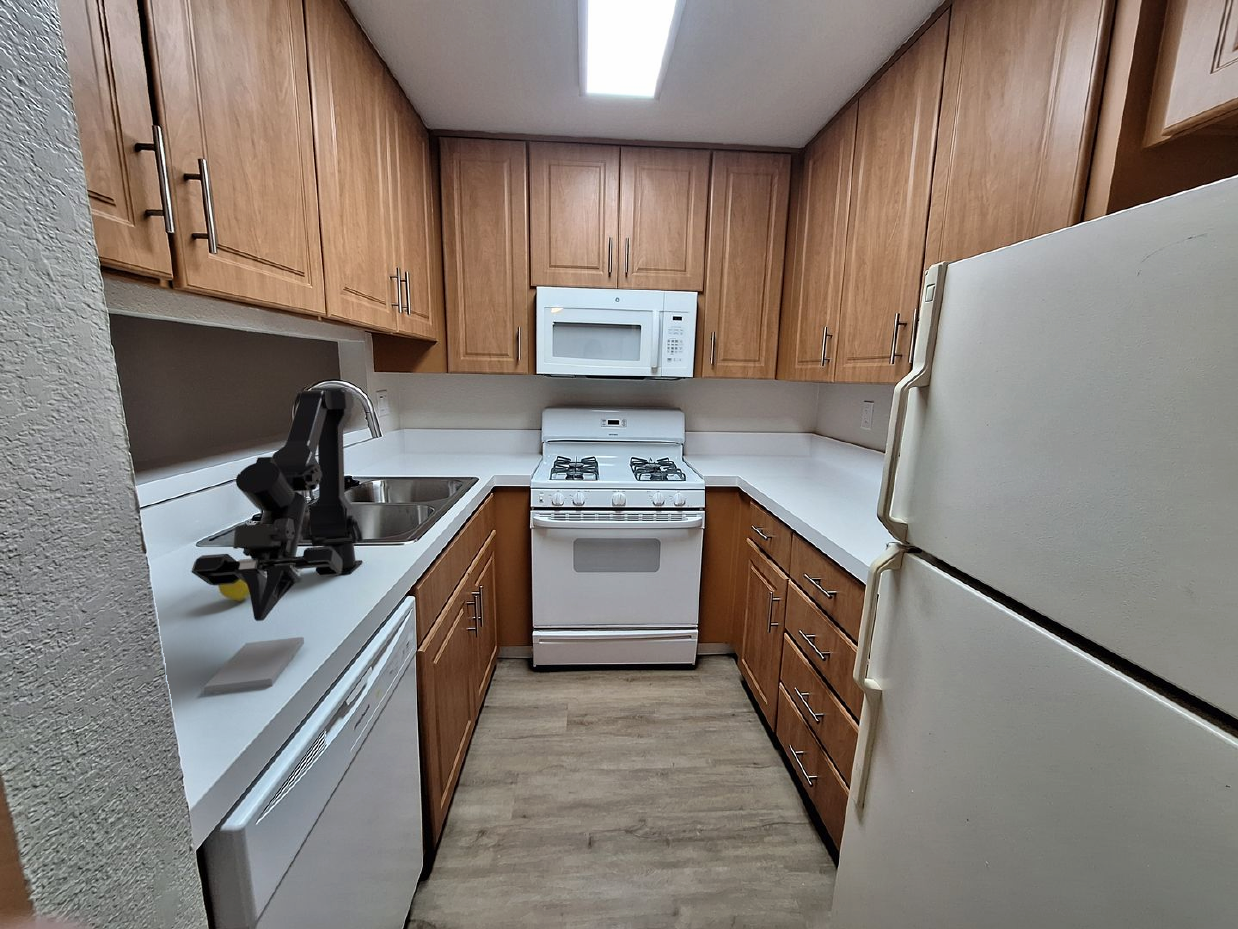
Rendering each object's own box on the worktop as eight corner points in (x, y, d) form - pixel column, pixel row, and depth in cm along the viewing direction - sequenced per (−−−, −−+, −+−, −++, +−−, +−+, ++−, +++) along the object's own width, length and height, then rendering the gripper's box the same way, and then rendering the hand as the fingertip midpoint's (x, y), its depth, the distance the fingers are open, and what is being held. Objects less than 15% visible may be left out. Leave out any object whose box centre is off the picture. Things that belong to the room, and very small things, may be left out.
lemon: (253, 591, 97) (246, 553, 95) (262, 599, 94) (255, 559, 92) (217, 602, 93) (210, 561, 91) (225, 610, 89) (218, 569, 88)
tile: (246, 643, 77) (204, 686, 66) (303, 636, 78) (271, 678, 68) (247, 652, 77) (205, 697, 66) (304, 645, 79) (272, 688, 68)
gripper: (187, 504, 73) (149, 609, 64) (327, 496, 76) (309, 594, 68) (225, 537, 82) (196, 633, 73) (349, 529, 86) (335, 619, 77)
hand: (258, 620), depth 73 cm, fingers closed
